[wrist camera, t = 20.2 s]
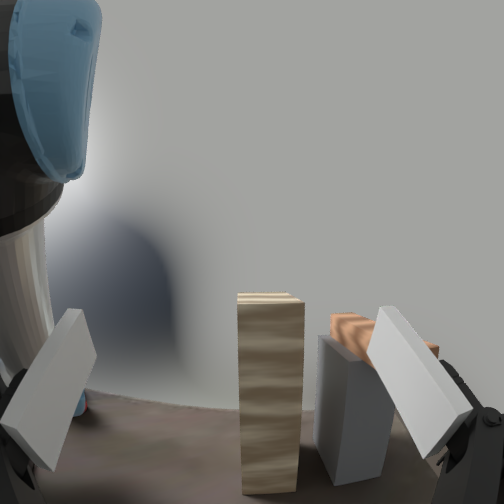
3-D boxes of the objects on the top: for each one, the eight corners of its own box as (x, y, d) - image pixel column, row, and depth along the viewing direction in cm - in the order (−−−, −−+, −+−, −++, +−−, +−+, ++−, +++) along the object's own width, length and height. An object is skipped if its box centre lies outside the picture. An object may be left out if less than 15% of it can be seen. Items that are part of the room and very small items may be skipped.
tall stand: (295, 491, 35) (304, 302, 36) (242, 494, 34) (237, 304, 36) (282, 441, 50) (284, 291, 52) (241, 443, 50) (237, 292, 52)
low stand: (380, 476, 35) (401, 354, 36) (333, 486, 35) (348, 361, 36) (350, 433, 51) (359, 332, 52) (312, 438, 51) (318, 335, 52)
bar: (434, 382, 25) (439, 346, 25) (403, 389, 25) (407, 352, 25) (351, 334, 51) (352, 312, 51) (330, 336, 51) (330, 313, 51)
